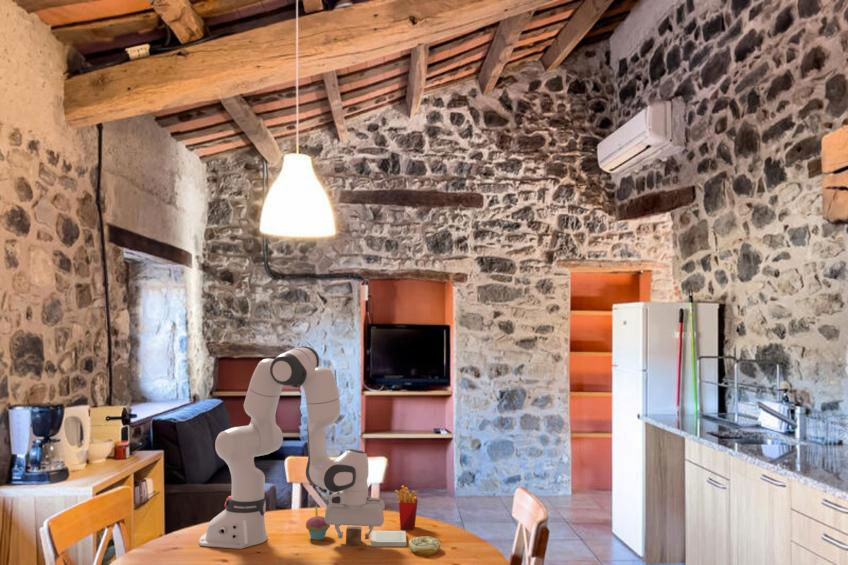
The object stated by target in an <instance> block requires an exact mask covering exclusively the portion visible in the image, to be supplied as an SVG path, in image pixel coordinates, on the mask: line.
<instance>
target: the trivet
mask: <svg viewBox="0 0 848 565" xmlns="http://www.w3.org/2000/svg"><path fill="white" fill-rule="evenodd" d="M406 531H407V530H372V531H371V535H370V547H407V533H406Z"/></svg>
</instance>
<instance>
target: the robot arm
mask: <svg viewBox="0 0 848 565" xmlns="http://www.w3.org/2000/svg"><path fill="white" fill-rule="evenodd" d="M284 386H287V387H293V388H300V387H302V388H303V391H304V394H305V395H304V396H305V403H306V404H305V405H306V410H307V411H306V412H307V425H306V426H307V427H306V428H307V451H308V452H307V453H308V457H307V463H306V466H305V478H306V479H307V481H308V482H309V484H311V485H312V486H315V487H318V488H319V487H320V488H321V489H324V490H326V491H329V492H332V493H331V494H330V496H329V497H328V504H327V506H326V508H325V512H324V513H325V514H324V518H325V523H326V524H329V525H330V526H332V525H334V529H335V531H336V533H337V538H338V539H342V538H343V537H344V531H341V529H340V526H352V527H368V532H365V534H364V537H365V538H364V539H365V540H371V534H372V531H374V527H376V528H377V527H378V528H381V526H383V524H384V523H385V515H384V511H385V509H386V507H385V506H386V505H385V502H386V501H384V500H383V499H381V498H380V497H369V486H368V485H369V484H368V479H369V478H368V477H369V459H368V454H367V453H366V452H365V451H362V450H360V449H354V448H347V449H346V450H345V451H344V452H343V453H342V454H341V455H340V456H338V457H337V458H335V459H331V458H330V456H329V455H328V453H327V452H328V451H327V430H328V428H329V427H330V426H332V425H333V424H334V423H336V422H337V420H338V419H339V417H340V415H341V403H340V401H341V400H340V394H339V390H338V389H339V388H338V384H337V382H336V378H335V375H334V373H333V371H332V370H331V369H330V368H328V367H325V366H320V356H319V353H318V352H317V351H316V350H315V349H314V348H312V347H311V346H307V345H303V346H298V347H294V348H291V349H288V350H287V351H285V352H283V353H280V354H278V355H277V356H276V357H275V358H264V359H262V360H260V361H259V362H258V364H257V366H256V367H255V369H254V371H253V373H252V375H251V378H250V381H249V384H248V389H247V392H246V394H245V399H244V401H243V402H244V403H243V409H244V410H243V411H245V413H246V415H247V416H248V417H250V422H249V424H248V425H241V426H234V427H230V428H227V429H225V430H223V431H220V432H219V433H218V435H217V437H216V439H215V441H214V442H215V444H214V445H215V446H214V447H215V452H216V454H217V455H218V457H219V458H220V459H221V460H223V461H224V462H225V463H226V465H227V466H228V468H229V472H230V477H231V493H230V494H231V495H228V497H226V499H225V501H224V502H225V503H224V510H222V511H221V512H220V513H219V514H217V515H216V516H214V517H213V518H212V519H211V520H210V522H209V523H208V525H207V528H206V532H205V533H203V534H202V535H201V536H200V537H199V539H198V545H199V546H200V547H201V546H202V547H211V548H212V547H214V548H223V549H224V548H225V549H226V548H227V549H245V548H247V547H252V546H256V545H260V544H262V543H264V542H266V541H267V540H268V535H267V530H266V523H265V522H266V520H265V514H266V505H267V503H266V502H267V501H266V496H265V490H266V489H265V488H266V486H265V485H266V484H265V482H266V476H265V474H264V472H263V471H262V470H261V469H259V468H258V467H256V465H255V457H260V456H265V455H266V456H267V455H269V454H271V453H274V452H276V451H278V450H280V448H281V447H282V444H283V441H284V434H283V431H282V429H281V428H280V426H279V425H278V424H277V421H276V412H277V409H278V406H279V401H280V396H281V394H282V390H283V387H284Z"/></svg>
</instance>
